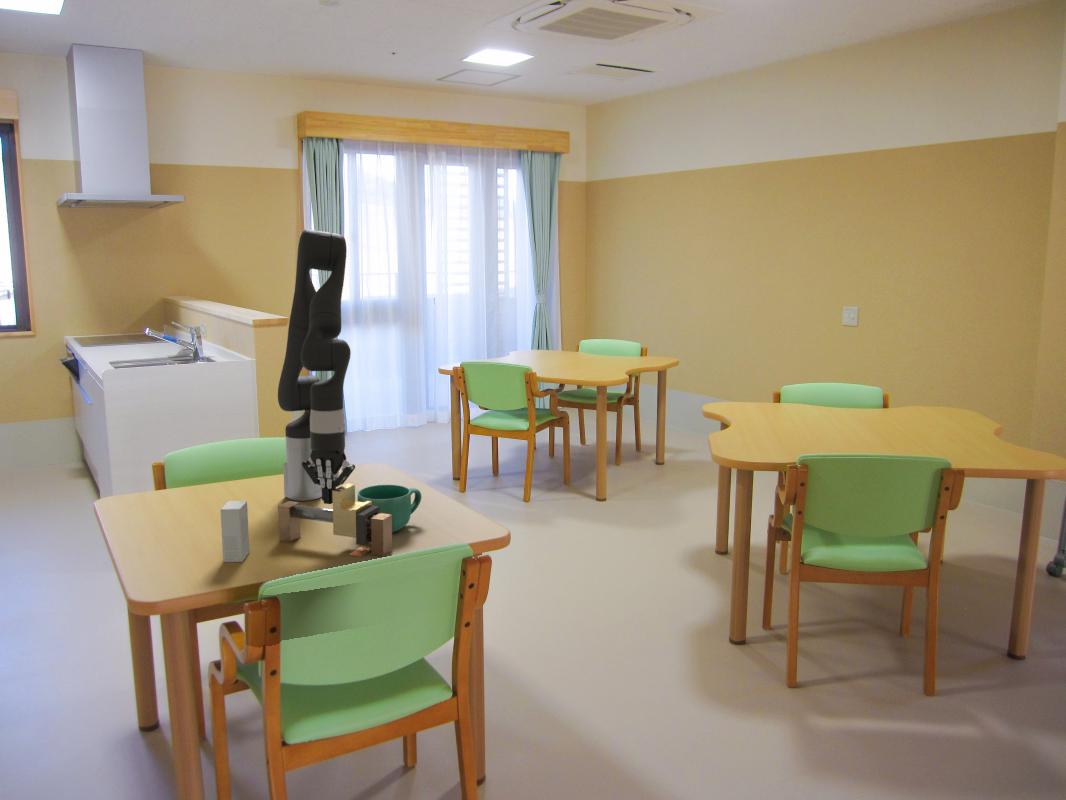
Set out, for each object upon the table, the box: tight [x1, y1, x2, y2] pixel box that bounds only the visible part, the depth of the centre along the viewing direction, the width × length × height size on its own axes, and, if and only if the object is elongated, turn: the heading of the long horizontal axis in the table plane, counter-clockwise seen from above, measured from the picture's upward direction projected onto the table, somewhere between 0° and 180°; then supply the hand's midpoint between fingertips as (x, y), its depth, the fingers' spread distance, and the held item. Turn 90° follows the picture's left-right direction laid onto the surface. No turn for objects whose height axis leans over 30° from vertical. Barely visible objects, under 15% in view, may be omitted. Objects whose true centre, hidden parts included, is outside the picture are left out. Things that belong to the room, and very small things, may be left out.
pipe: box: [277, 500, 393, 558], centre depth 185 cm, size 27×8×8 cm, turn 72°
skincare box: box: [220, 500, 250, 563], centre depth 177 cm, size 6×4×12 cm
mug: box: [357, 484, 422, 533], centre depth 198 cm, size 17×13×10 cm
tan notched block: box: [332, 483, 372, 539], centre depth 183 cm, size 6×7×10 cm
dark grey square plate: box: [355, 505, 380, 546], centre depth 182 cm, size 2×7×7 cm, turn 162°
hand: (329, 503), depth 185 cm, fingers closed
